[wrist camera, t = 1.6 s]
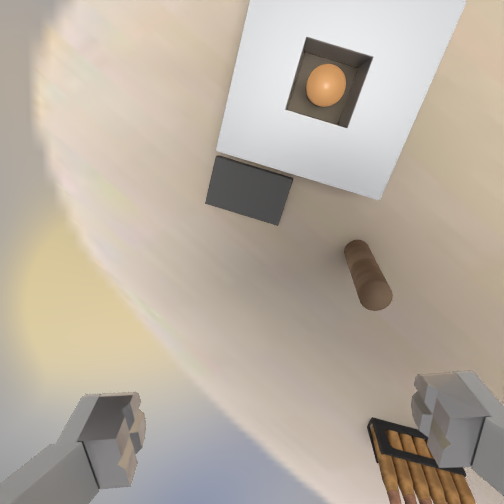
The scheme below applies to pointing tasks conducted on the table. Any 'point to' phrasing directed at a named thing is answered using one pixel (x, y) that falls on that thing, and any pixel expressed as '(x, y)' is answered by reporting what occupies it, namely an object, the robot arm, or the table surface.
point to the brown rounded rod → (367, 276)
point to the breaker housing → (361, 93)
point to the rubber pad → (248, 190)
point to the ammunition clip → (414, 467)
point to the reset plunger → (325, 85)
